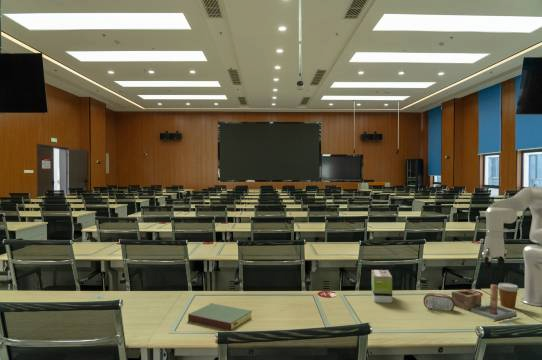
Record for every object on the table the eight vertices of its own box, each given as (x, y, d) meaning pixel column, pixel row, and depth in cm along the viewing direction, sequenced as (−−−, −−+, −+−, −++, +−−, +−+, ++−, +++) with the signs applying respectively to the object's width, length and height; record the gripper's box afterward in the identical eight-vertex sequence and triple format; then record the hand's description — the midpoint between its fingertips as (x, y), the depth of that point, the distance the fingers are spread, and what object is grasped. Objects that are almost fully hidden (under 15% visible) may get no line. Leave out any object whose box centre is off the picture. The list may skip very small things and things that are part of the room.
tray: (492, 308, 214) (492, 304, 214) (516, 316, 202) (516, 311, 202) (471, 313, 207) (471, 308, 207) (494, 321, 195) (494, 316, 195)
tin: (454, 311, 209) (454, 295, 209) (454, 313, 207) (454, 297, 206) (423, 307, 216) (423, 291, 216) (423, 309, 213) (423, 293, 213)
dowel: (492, 311, 207) (493, 284, 206) (498, 313, 204) (499, 285, 204) (488, 312, 205) (489, 284, 205) (494, 314, 203) (495, 286, 202)
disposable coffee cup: (521, 311, 211) (521, 288, 210) (501, 310, 213) (501, 287, 212) (514, 305, 220) (514, 283, 220) (494, 304, 222) (495, 282, 222)
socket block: (464, 304, 222) (464, 289, 221) (481, 309, 213) (481, 294, 212) (451, 306, 217) (451, 291, 217) (467, 312, 208) (468, 297, 208)
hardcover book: (188, 322, 195) (188, 314, 195) (211, 310, 211) (211, 303, 211) (232, 331, 183) (232, 323, 183) (253, 318, 200) (253, 311, 200)
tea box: (371, 294, 239) (371, 269, 239) (388, 295, 238) (388, 269, 237) (373, 302, 224) (374, 275, 224) (392, 303, 223) (393, 276, 223)
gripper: (499, 231, 211) (499, 264, 212) (476, 234, 204) (476, 268, 204) (513, 233, 204) (513, 267, 205) (489, 236, 197) (489, 271, 197)
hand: (494, 268), depth 204 cm, fingers open, 9 cm apart
